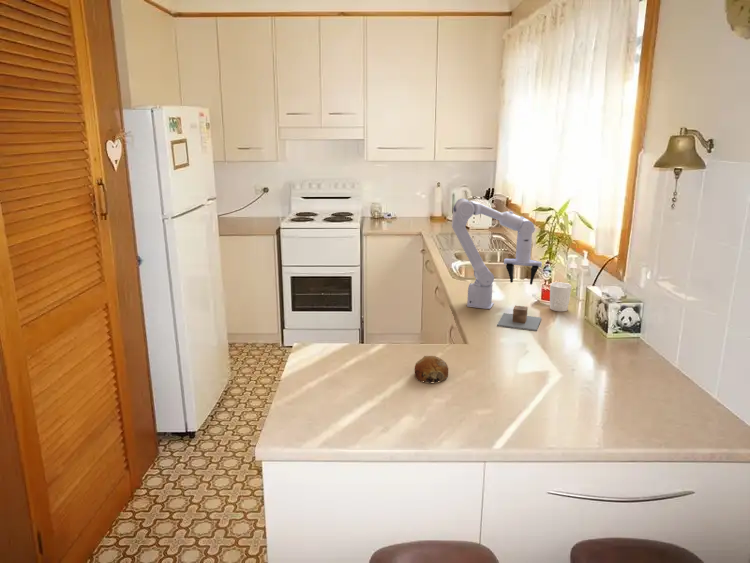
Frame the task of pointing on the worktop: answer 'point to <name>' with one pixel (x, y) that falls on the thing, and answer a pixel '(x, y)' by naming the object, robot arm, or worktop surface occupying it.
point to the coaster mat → (530, 323)
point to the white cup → (559, 296)
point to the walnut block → (520, 314)
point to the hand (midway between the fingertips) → (521, 283)
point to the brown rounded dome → (431, 369)
